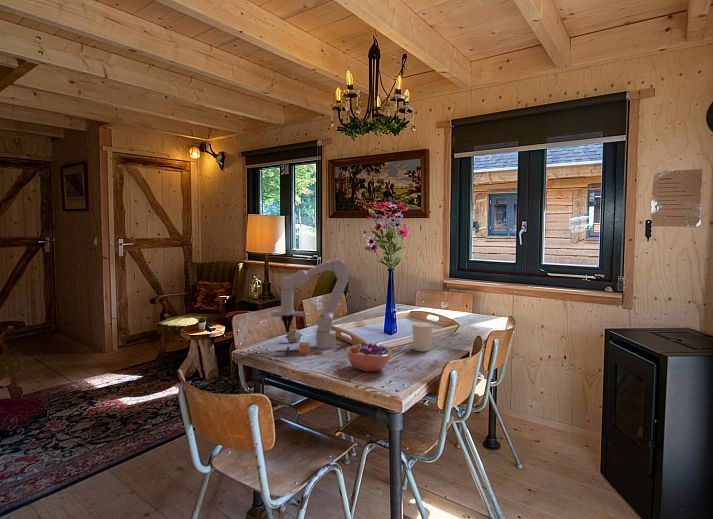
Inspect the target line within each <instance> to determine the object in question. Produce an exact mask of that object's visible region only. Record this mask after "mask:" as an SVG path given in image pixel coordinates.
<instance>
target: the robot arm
mask: <svg viewBox="0 0 713 519" xmlns="http://www.w3.org/2000/svg"><path fill="white" fill-rule="evenodd" d="M325 271H326V272H333V273H334V275H335V276H336V283H335V285H334V287H333V289H332V292H331V294H330V297H329V298H328V300H327V303H326V305H325V307H324V310H323V311H322V312H321V314H320V315H319V316H318V317H317V318H316V322H315V323H316V325H317V328H316V335H315V336H316V337H315V339H316V344H315V345H316V348H317V349H319V350H328V349H332V350H333V349H336V348H337V342H336V341H337V339H336V330H332V326H333V325H332V323H333V320H334V314H335V313H336V310H337V307H338V305H339V303H340V300H341V298H342V296H343V294H344V292H345V289H346V287H347V285H348V282H349V279H350V278H349V272H348V266H347V264H346V262H345V261H344V260H342V259H340V258H338V257H337V258H335V257H334V258H332V259H329V260H326V261H323V262H322V263H320V264H318V265H316V266H314V267H312V268H310V269H308V270H305V269H302V270H301V269H299V270H297V272H295V273H292V274H288V276H286V277H282V279H281V280H280V286H281V294H280V307H281V308H280V311H272V312H271V317H272V318H274V317H280V318H281V321H282V322H283V325H284V328H285V332H286V333H288V332H289V330H290V328H291V324H292V322H293V319H294V317H304V311H298V310H297V311H296V310H294V309H295V308H294V302H295V301H294V288H295V287H297V286H299V285H302V284H305V283H306V282H308V281H309V279H310V278H311V277H313V276H315V275H318V274H319V273H320V274H321V273H322V272H325Z"/></svg>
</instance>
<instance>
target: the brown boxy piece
mask: <svg viewBox="0 0 713 519" xmlns="http://www.w3.org/2000/svg"><path fill="white" fill-rule="evenodd" d="M285 350H286V352H285V355H297V354H299V352H290V351H289V350H290V346H287V347H286V349H285ZM307 356H323V351H321V350H317V351H310V355H306V356H305V357H307Z"/></svg>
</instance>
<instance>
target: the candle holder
mask: <svg viewBox="0 0 713 519" xmlns="http://www.w3.org/2000/svg"><path fill="white" fill-rule="evenodd" d="M411 326H412V329H411V330H412V346H413V350H414V351H418V352H429V351H431V349H432V339H433V326H434V325H433V323H431V322H425V321H422V322H421V321H418V322H412V323H411Z"/></svg>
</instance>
